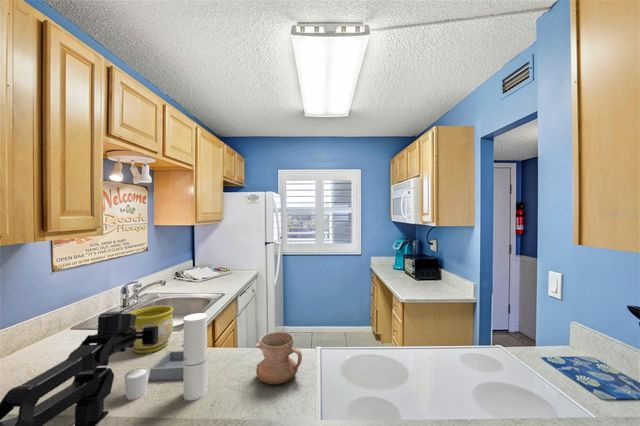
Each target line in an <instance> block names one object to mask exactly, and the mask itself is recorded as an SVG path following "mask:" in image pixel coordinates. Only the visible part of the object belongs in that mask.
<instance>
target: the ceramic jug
mask: <svg viewBox="0 0 640 426" xmlns="http://www.w3.org/2000/svg"><path fill="white" fill-rule="evenodd" d="M293 344H294V335H293V334H292V333H289V332H287V331H272V332H267V333H265V334H264V335H262V336H260V338H259V342H257V343H256V344H255V345H254V347H255V348H256V349H258V348H259V349H260V351H262V355H263V357H264V358H263V359H262V360H261V361H259V362H258V363H257V364H256V371H255V372H256V376H257V378H258V379H259V380H260V381H261V382H262V383H264V384H267V385H280V384H284V383H287V382H289V381H290V380H292V379H293V378H294V377H295V376H296V375H297V373H298V369H299V367H300V365H301V363H302V361H303V354H302V351H301V350H300V349H298V348H296V347H295V348H293ZM295 353H296V355H297V361H295V360H294V359H293V358H292V357H290V355H292V354H295ZM296 362H297V363H296Z"/></svg>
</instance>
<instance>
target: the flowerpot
mask: <svg viewBox="0 0 640 426" xmlns="http://www.w3.org/2000/svg"><path fill="white" fill-rule="evenodd" d="M173 312H174V308H173V307H172V306H171V305H151V306H147V307H146V306H145V307H143V308H141V307H140V308H138V309H134V310H132V311H131V312H129V313H130V314H134V315H136V316H137V318H136V321H135V325H134V327H133V328H136V332H138V331H143V329H144V327H147V326H158V343H157V344H155V345H154V346H143V345H142V339H136V341H135V342H134V347H131V350H132V351H134V352H135V353H137V354H150V353H154V352H157V351H159V350H162V349H164V348H165V347H166V346H167V345H168V343H169V342H170V340H169V339H170V337H171V335H172V333H173V328H174V320H173ZM138 335H142V334H138Z"/></svg>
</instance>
